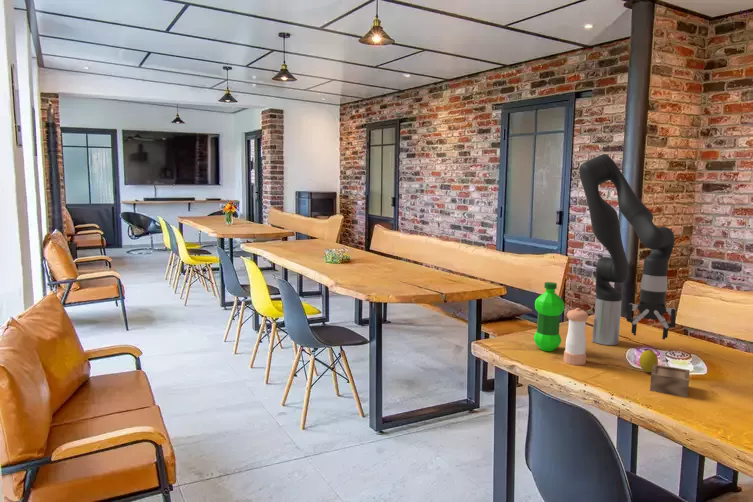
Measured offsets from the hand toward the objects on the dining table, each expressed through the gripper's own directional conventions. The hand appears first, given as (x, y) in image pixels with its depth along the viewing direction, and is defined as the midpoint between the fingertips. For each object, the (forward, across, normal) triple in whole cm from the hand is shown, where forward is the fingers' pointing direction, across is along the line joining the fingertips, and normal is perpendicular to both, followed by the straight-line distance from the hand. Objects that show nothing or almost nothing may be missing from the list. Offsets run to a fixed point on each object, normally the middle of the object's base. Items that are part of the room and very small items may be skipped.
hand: (649, 336), depth 182 cm
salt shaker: (+13, -22, 0) cm, 26 cm away
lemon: (+12, 0, 0) cm, 13 cm away
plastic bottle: (+13, -34, +10) cm, 37 cm away
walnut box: (+13, +7, -12) cm, 18 cm away
